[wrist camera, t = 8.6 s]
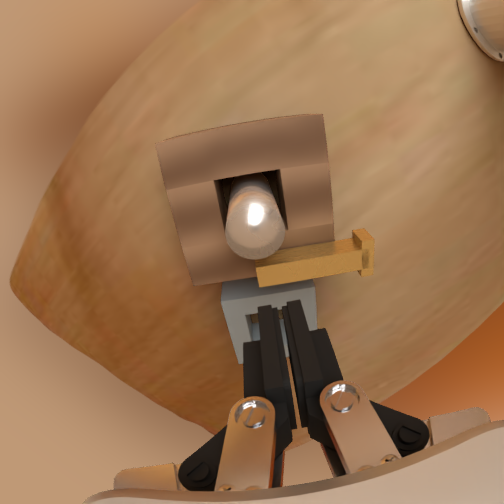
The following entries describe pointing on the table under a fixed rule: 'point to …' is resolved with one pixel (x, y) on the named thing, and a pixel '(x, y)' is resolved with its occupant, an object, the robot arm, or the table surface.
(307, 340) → the robot arm
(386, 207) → the table surface
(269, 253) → the steel peg
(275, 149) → the socket block
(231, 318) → the grey square ring block
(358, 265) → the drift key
